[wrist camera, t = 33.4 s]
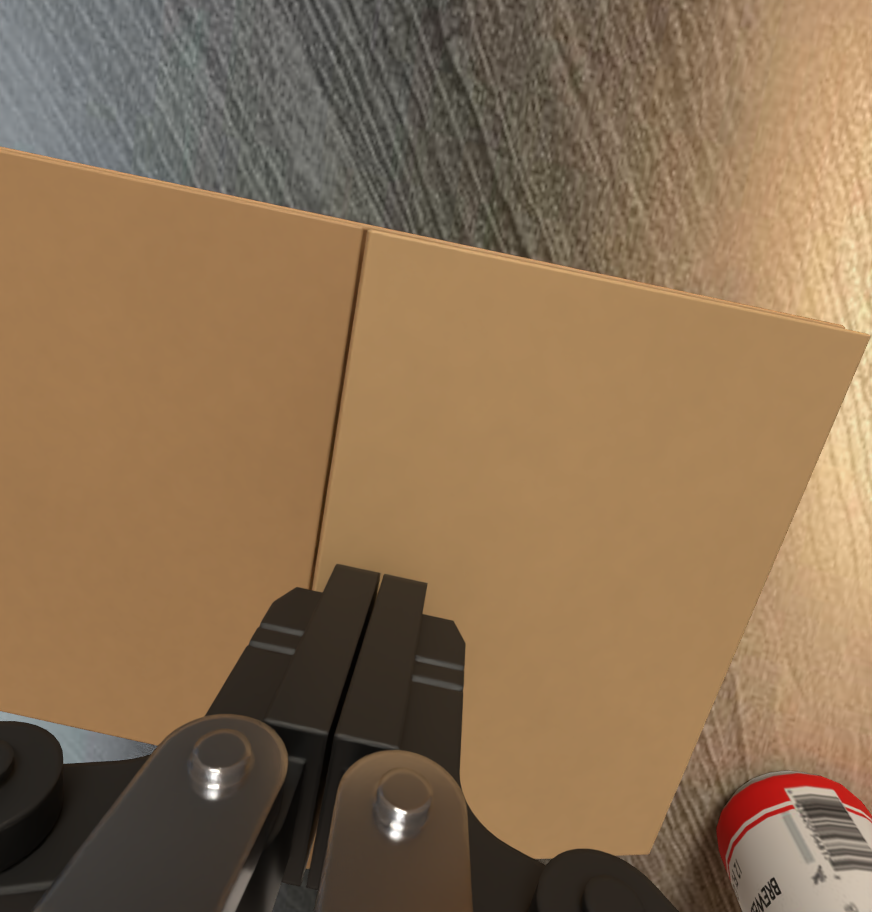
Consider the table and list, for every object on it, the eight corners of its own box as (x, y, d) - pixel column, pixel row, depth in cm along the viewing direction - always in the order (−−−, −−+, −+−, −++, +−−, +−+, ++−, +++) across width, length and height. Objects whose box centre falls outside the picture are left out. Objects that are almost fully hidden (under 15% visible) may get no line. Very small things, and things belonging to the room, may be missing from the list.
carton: (675, 289, 21) (874, 332, 10) (579, 594, 25) (649, 856, 14) (182, 185, 21) (-131, 118, 10) (163, 504, 25) (-79, 696, 14)
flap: (853, 330, 11) (872, 334, 10) (641, 839, 14) (649, 855, 14) (367, 228, 9) (369, 229, 8) (271, 851, 12) (270, 871, 12)
